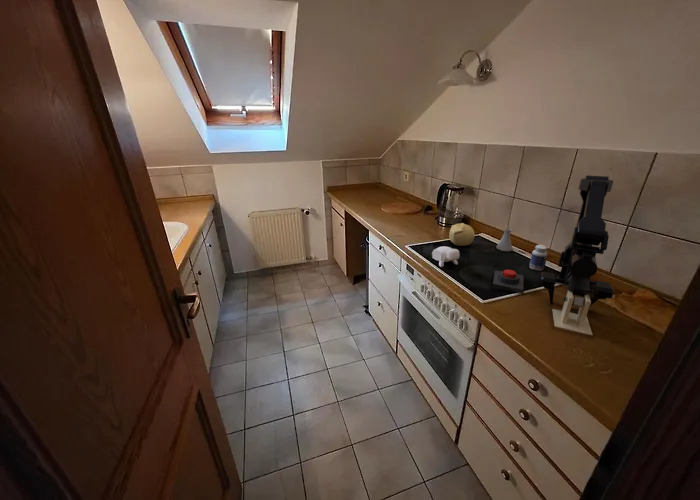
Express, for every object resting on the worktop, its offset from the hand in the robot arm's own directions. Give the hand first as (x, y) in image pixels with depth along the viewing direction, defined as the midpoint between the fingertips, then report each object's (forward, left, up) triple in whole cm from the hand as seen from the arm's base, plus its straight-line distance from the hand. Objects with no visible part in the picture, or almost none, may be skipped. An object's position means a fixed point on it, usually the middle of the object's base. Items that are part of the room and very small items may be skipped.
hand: (567, 306), depth 98 cm
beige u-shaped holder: (+9, 0, 0) cm, 9 cm away
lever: (+6, 0, +4) cm, 7 cm away
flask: (-46, -21, -1) cm, 50 cm away
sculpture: (-44, -41, -1) cm, 60 cm away
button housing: (-9, -18, 0) cm, 20 cm away
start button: (-9, -18, +3) cm, 20 cm away
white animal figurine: (-17, -43, -1) cm, 46 cm away
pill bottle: (-29, -8, -1) cm, 30 cm away
